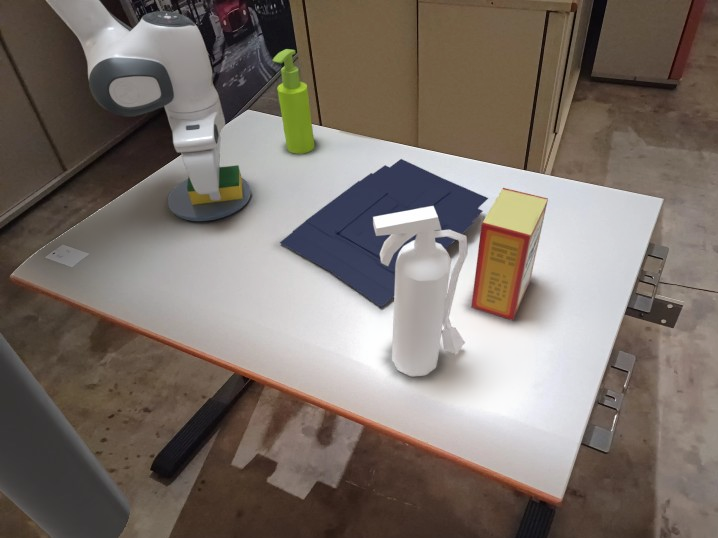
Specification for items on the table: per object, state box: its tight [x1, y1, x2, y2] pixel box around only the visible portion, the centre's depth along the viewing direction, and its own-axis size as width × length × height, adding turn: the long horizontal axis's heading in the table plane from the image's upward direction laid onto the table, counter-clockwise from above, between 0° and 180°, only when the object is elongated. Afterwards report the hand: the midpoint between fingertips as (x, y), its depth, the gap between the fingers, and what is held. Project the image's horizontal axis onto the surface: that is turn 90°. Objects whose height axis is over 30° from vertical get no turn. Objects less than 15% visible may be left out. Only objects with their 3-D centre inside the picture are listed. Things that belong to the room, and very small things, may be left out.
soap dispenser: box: [271, 48, 316, 155], centre depth 111 cm, size 6×7×20 cm
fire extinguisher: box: [373, 206, 468, 377], centre depth 68 cm, size 7×12×25 cm, turn 99°
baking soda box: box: [470, 187, 549, 321], centre depth 80 cm, size 10×6×16 cm
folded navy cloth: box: [279, 158, 489, 308], centre depth 96 cm, size 24×30×4 cm
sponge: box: [187, 164, 243, 205], centre depth 102 cm, size 9×6×4 cm, turn 102°
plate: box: [167, 177, 252, 222], centre depth 104 cm, size 15×15×1 cm
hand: (216, 187), depth 103 cm, fingers closed on sponge, 6 cm apart
